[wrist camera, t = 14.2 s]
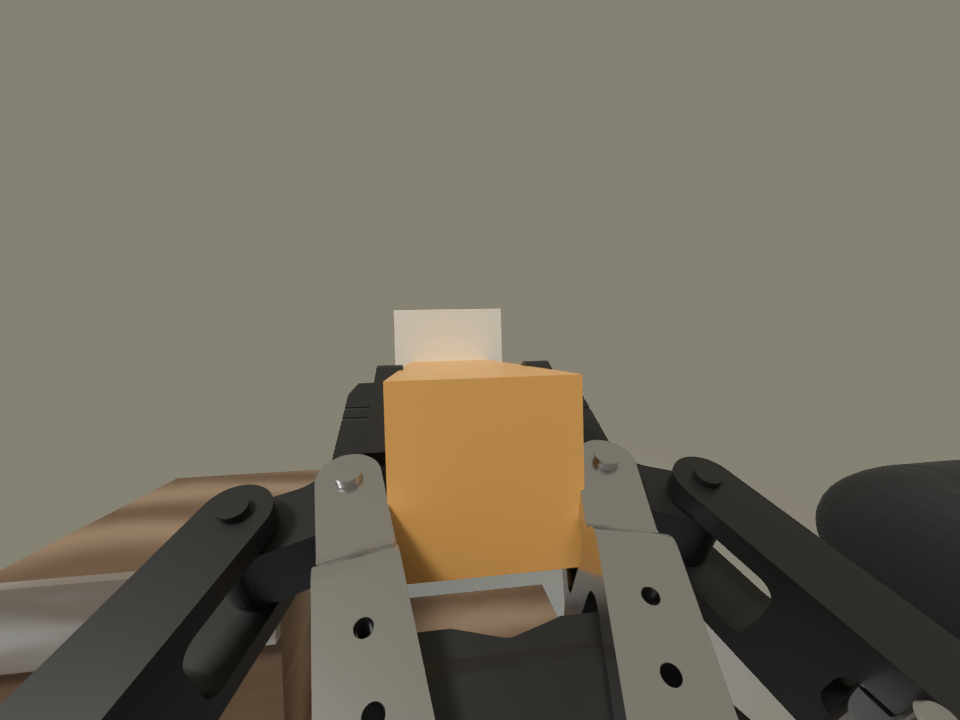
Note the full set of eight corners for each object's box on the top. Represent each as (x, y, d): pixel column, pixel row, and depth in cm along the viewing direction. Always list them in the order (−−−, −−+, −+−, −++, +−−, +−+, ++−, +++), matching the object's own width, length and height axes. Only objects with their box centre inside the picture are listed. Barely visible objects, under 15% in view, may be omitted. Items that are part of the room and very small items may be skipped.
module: (409, 403, 32) (407, 326, 32) (473, 400, 33) (471, 325, 32) (348, 589, 7) (336, 242, 7) (621, 563, 8) (616, 243, 8)
